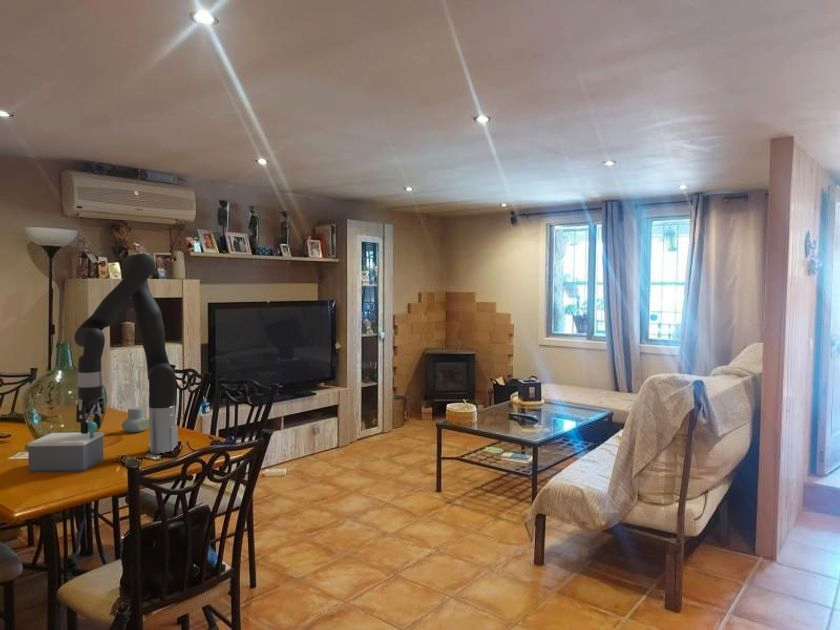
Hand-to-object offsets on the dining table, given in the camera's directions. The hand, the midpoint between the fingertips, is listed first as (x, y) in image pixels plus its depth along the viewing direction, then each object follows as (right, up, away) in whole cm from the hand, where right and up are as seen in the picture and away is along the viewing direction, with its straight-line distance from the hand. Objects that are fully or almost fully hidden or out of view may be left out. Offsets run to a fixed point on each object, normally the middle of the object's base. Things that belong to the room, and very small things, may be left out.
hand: (90, 430), depth 209 cm
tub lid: (-8, -3, 0) cm, 8 cm away
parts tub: (-8, -12, 0) cm, 15 cm away
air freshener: (-9, -10, +51) cm, 53 cm away
